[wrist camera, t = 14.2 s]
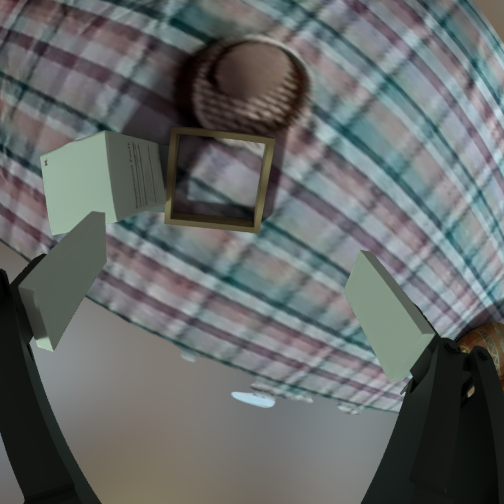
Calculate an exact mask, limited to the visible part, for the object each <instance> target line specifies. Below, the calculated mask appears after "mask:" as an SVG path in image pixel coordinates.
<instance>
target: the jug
mask: <svg viewBox="0 0 504 504" xmlns="http://www.w3.org/2000/svg"><path fill="white" fill-rule="evenodd" d="M456 343H457V344H458V345H459V346H460V348H461V350H462V352H465V353H470V351H471V350H472V348H473V347H474V346H476V345H478V346H481V347H484V348H486V349H487V350H488V352H489V353H490V354H491V356H492V358H493V361H494V364H495V367H496V370H497V373H498V376H499V379H500V382H501V385H502V389H503V392H504V325H503V324H502V323H493V322H492V323H488V324H485V325H482V326H479V327H477V328H475V329H473V330H471V331H469V332H468V333H466V334H465V335H464V336H462V337H461V338H460V339H459V340H458V341H457V342H456ZM473 393H474V386H473V387H472V389H471V390H470V391H469V392H468V397H470V396H471V395H472V394H473Z"/></svg>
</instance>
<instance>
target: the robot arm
mask: <svg viewBox="0 0 504 504" xmlns="http://www.w3.org/2000/svg"><path fill="white" fill-rule="evenodd" d="M106 262H107V256H106V228H105V212H97V211H91V212H90V213H89V214H88V215H87V216H86V217H85V218H84V219H83V220H81V221H80V222H79V223H78V224H77V225H76V226H75V227H74V228H73V229H72V230H71V231H70V232H69V233H68V234H67V235H66V236H65V237H64V238H63V239H62V240H61V241H60V242H59V243H58V244H57V245H56V246H55V247H54V248H53V249H52V250H51V251H50V252H49V253H48V254H44V253H43V254H41V255H39V256H38V257H36V258H34V259H33V260H32V261H31V262H30V263H29V264H28V265H27V267H25V268H24V270H23V271H22V272H21V273H20V274H19V275H18V276H17V277H16V278H15V280H14V281H13V282H12V283H11V284H9V281H8V277H7V274H6V271H4V270H3V269H0V433H1V436H2V440H3V443H4V446H5V449H6V452H7V455H8V458H9V461H10V463H11V466H12V469H13V471H14V474H15V476H16V479H17V481H18V484H19V486H20V488H21V490H22V493H23V495H24V499H25V502H24V504H102V503H101V502H100V500H99V499H98V497H97V496H96V494H95V493H94V491H93V490H92V488H91V486H90V485H89V483H88V481H87V480H86V478H85V476H84V475H83V473H82V471H81V469H80V468H79V466H78V464H77V462H76V460H75V459H74V456H73V455H72V453H71V451H70V449H69V447H68V445H67V443H66V441H65V438H64V436H63V434H62V432H61V430H60V428H59V425H58V423H57V421H56V418H55V416H54V414H53V411H52V409H51V406H50V404H49V401H48V399H47V396H46V393H45V390H44V387H43V384H42V382H41V379H40V375H39V373H38V369H37V366H36V363H35V359H34V356H33V352H32V349H31V346H30V344H29V342H30V341H31V339H32V337H33V336H34V338H35V341H36V344H37V346H38V347H40V348H43V349H46V350H50V351H53V352H54V350H55V348H56V346H57V344H58V342H59V341H60V339H61V337H62V335H63V333H64V331H65V329H66V328H67V326H68V324H69V322H70V321H71V319H72V317H73V315H74V314H75V312H76V310H77V308H78V307H79V305H80V303H81V301H82V300H83V298H84V297H85V295H86V293H87V292H88V290H89V288H90V287H91V285H92V284H93V282H94V280H95V279H96V277H97V276H98V274H99V273H100V271H101V269H102V268H103V266H104V265H105V263H106ZM343 293H344V295H345V297H346V298H347V300H348V302H349V304H350V306H351V308H352V310H353V311H354V313H355V315H356V317H357V319H358V321H359V323H360V325H361V327H362V329H363V331H364V332H365V334H366V336H367V338H368V340H369V342H370V344H371V346H372V348H373V350H374V352H375V354H376V356H377V358H378V360H379V362H380V364H381V366H382V368H383V370H384V373H385V375H386V377H387V379H388V381H389V382H396V381H403V379H404V378H405V377H406V375H407V374H408V373H409V371H410V372H411V374H412V376H413V377H412V379H411V380H410V381H409V382H408V384H407V385H406V386H405V387H404V389H403V390H402V391H401V393H400V394H401V395H402V394H403V393H404V392H405V391H406V393H405V397H404V400H403V403H402V406H401V409H400V412H399V415H398V418H397V421H396V424H395V427H394V430H393V433H392V435H391V438H390V440H389V443H388V445H387V448H386V451H385V453H384V455H383V458H382V460H381V462H380V465H379V467H378V469H377V471H376V474H375V476H374V478H373V480H372V482H371V484H370V486H369V488H368V490H367V492H366V494H365V497H364V498H363V500H362V502H361V504H504V392H503V389H502V385H501V382H500V379H499V376H498V373H497V370H496V367H495V364H494V361H493V358H492V356H491V354H490V353H489V352H488V350H487V349H486V348H484V347H481V346H478V345H476V346H474V347H473V348H472V350H471V351H470V353H465V352H462V350H461V348H460V346H459V345H458V344H457V343H456V342H454V341H453V340H451V339H449V338H444V337H443V338H441V337H440V336H439V334H438V333H437V332H436V330H435V329H434V327H433V326H432V325H431V323H430V322H429V321H427V318H426V317H425V315H423V313H422V311H421V310H420V309H419V307H418V306H417V305H415V304H414V303H413V302H412V301H411V300H410V298H409V297H408V296H407V295H406V293H405V292H404V291H403V290H402V288H401V287H400V286H399V284H398V283H397V282H396V281H395V279H394V278H393V277H392V276H391V275H390V273H389V272H388V271H387V270H386V268H385V267H384V266H383V265H382V264H381V262H380V261H379V260H378V259H377V258H376V256H375V255H374V254H373V253H372V252H370V251H364V250H360V251H359V254H358V256H357V259H356V261H355V264H354V267H353V269H352V272H351V274H350V277H349V279H348V282H347V284H346V286H345V289H344V291H343ZM473 386H474V393H473V394H472V395H471V396H470V397H468V392H469V391H470V390H471V389H472V387H473ZM445 492H446V493H445Z"/></svg>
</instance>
